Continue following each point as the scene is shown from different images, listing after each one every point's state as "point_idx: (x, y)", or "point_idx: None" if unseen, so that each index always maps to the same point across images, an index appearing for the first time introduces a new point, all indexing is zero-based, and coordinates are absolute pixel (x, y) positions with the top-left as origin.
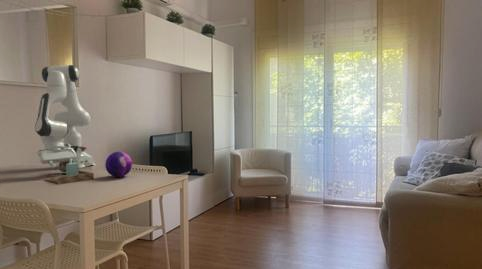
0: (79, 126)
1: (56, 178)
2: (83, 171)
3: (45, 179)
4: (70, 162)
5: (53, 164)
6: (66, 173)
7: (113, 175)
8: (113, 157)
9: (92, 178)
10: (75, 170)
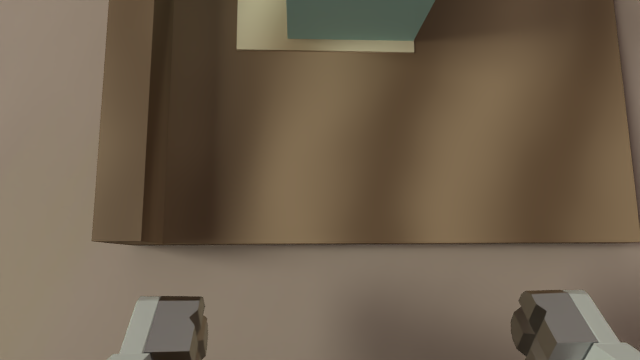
0: None
1: (519, 113)
2: (136, 2)
3: (630, 204)
4: (151, 348)
5: (606, 335)
6: (430, 3)
7: None
8: None
9: None
10: None
